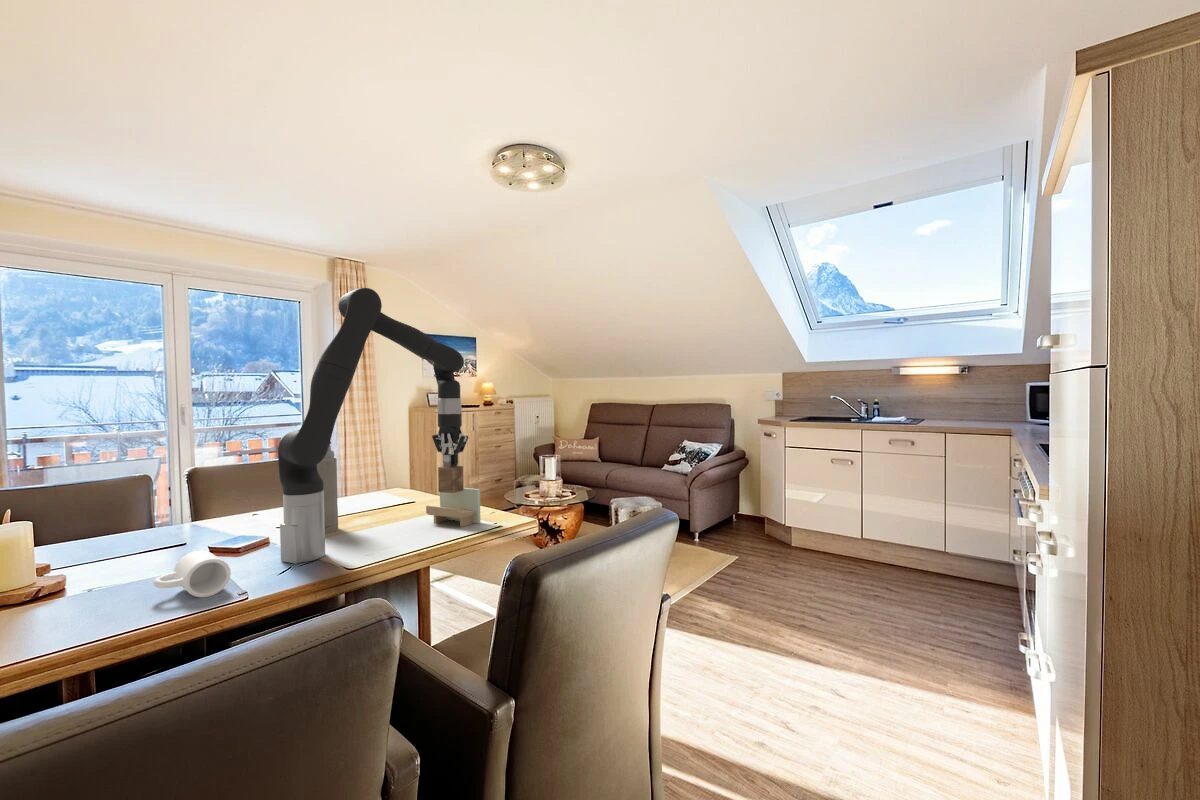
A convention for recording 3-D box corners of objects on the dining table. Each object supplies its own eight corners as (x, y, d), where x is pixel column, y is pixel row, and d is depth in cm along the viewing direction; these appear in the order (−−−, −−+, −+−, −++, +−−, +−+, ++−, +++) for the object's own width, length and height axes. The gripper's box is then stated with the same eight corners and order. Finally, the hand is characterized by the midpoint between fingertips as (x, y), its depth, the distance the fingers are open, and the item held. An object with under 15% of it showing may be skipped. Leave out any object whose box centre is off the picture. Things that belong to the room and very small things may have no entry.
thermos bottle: (308, 535, 156) (305, 443, 155) (310, 529, 163) (308, 441, 162) (337, 531, 159) (335, 441, 158) (338, 525, 166) (336, 439, 166)
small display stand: (462, 529, 160) (462, 494, 160) (424, 524, 167) (423, 490, 167) (480, 522, 168) (479, 489, 168) (442, 518, 175) (442, 485, 174)
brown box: (452, 493, 163) (451, 455, 163) (438, 492, 166) (437, 455, 166) (463, 490, 168) (462, 453, 168) (449, 489, 170) (448, 453, 170)
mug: (217, 580, 119) (216, 546, 118) (231, 591, 112) (230, 554, 112) (149, 597, 109) (148, 560, 109) (160, 609, 103) (159, 570, 103)
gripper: (424, 412, 166) (425, 466, 166) (458, 413, 160) (459, 468, 160) (441, 411, 173) (442, 463, 173) (474, 412, 167) (475, 465, 167)
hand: (450, 465), depth 167 cm, fingers closed on brown box, 2 cm apart
